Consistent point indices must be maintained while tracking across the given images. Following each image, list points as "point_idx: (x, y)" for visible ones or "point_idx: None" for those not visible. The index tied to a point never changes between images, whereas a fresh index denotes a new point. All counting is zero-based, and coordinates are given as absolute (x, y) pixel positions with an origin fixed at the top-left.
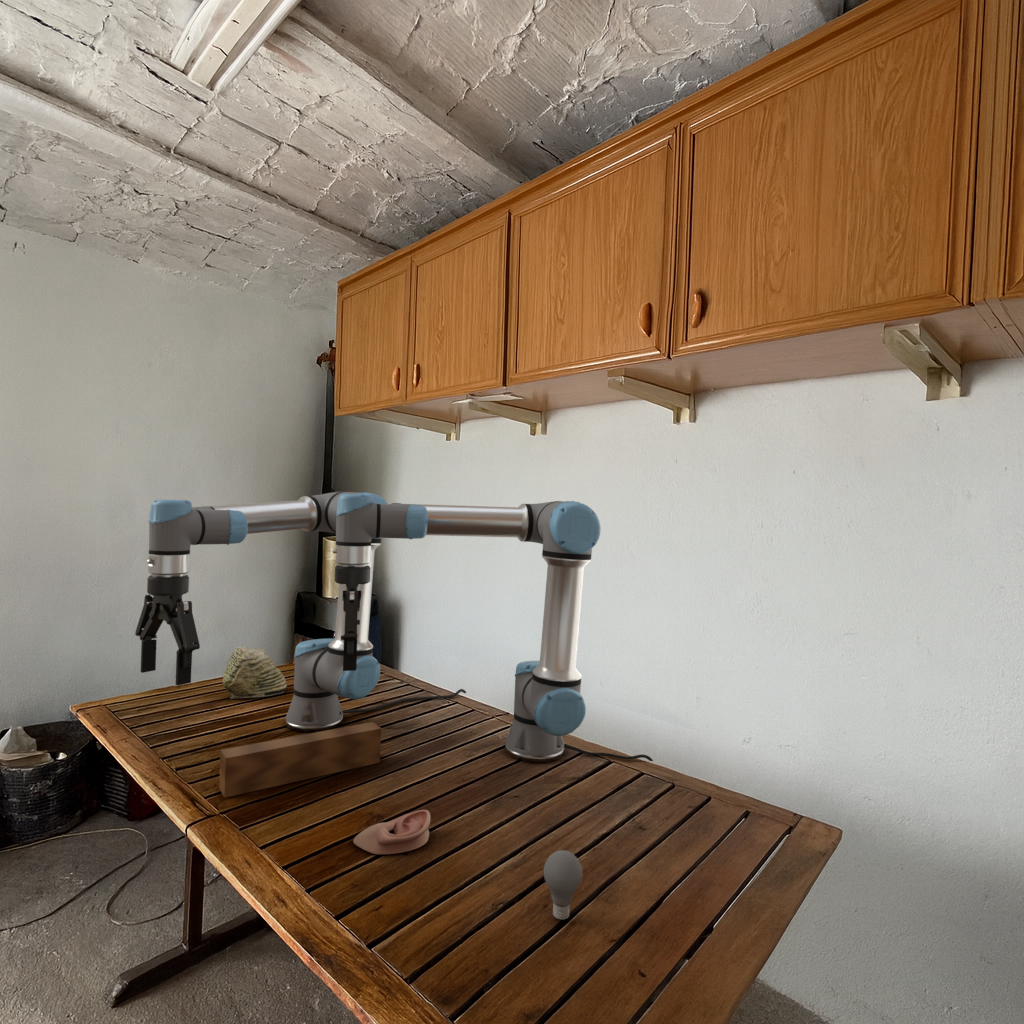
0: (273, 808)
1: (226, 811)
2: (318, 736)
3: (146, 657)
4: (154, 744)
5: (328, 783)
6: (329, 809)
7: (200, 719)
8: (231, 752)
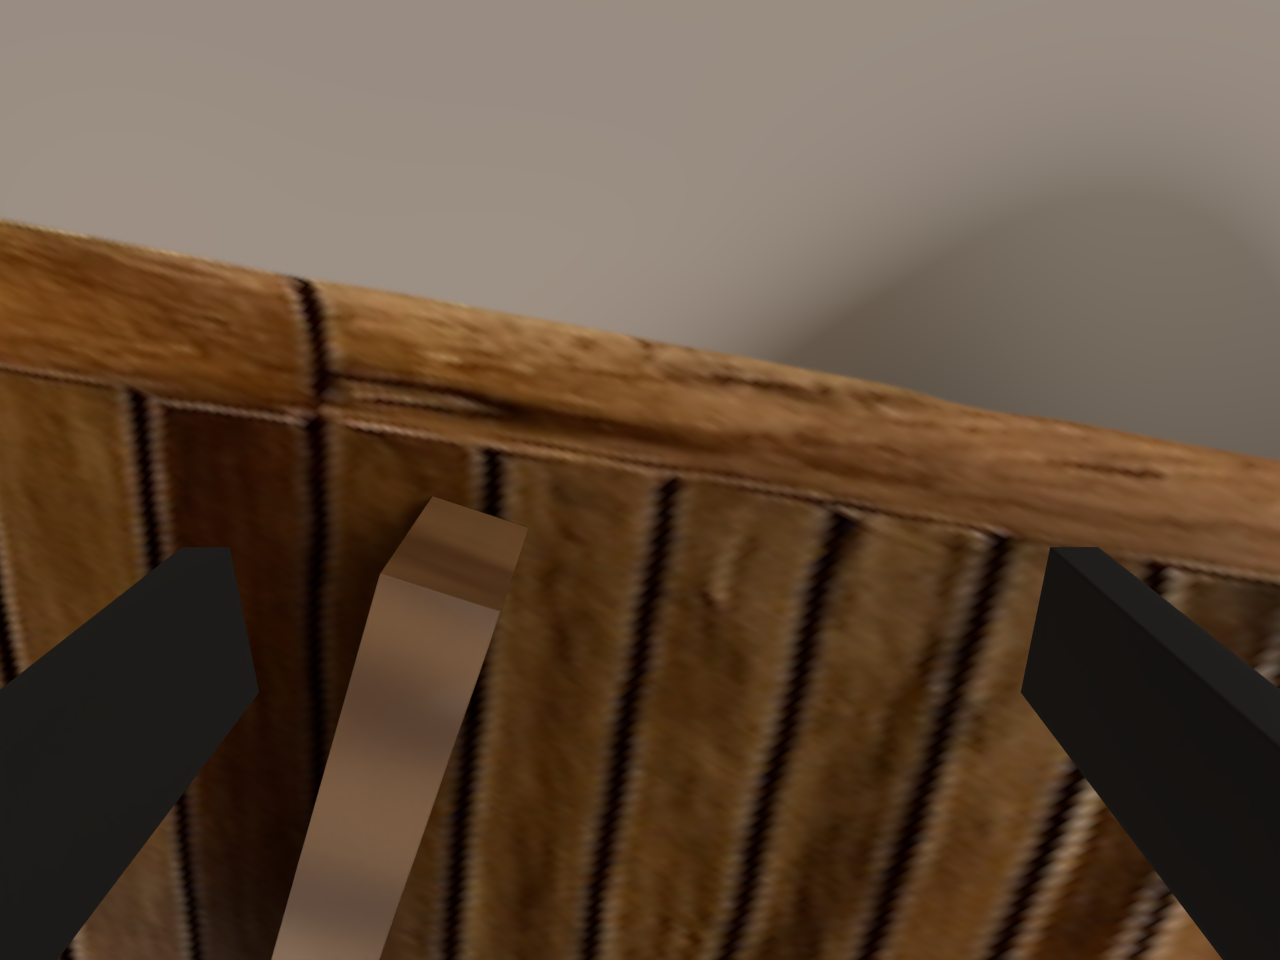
0: None
1: (315, 439)
2: (324, 939)
3: (1163, 710)
4: (1179, 591)
5: (266, 782)
6: None
7: None
8: (427, 625)
